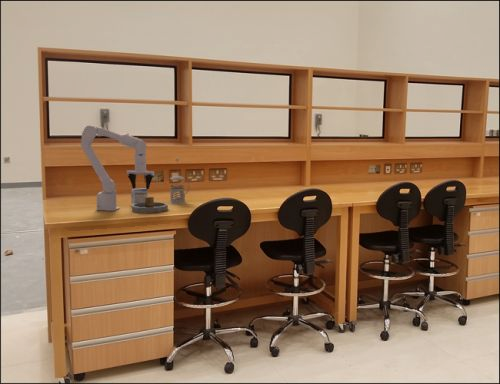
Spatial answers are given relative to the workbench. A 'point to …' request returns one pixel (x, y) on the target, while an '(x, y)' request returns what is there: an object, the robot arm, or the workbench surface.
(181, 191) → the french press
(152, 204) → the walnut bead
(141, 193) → the medicine box
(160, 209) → the round tray
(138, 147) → the robot arm
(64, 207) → the workbench surface
